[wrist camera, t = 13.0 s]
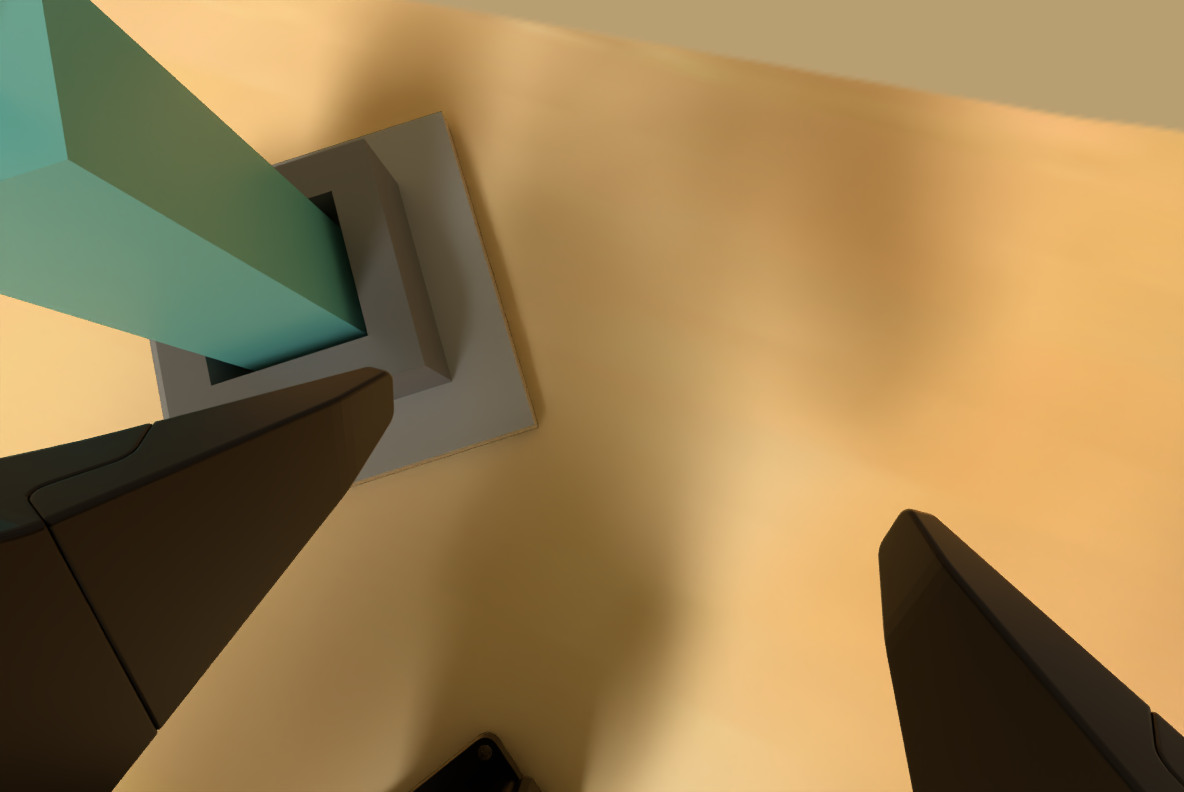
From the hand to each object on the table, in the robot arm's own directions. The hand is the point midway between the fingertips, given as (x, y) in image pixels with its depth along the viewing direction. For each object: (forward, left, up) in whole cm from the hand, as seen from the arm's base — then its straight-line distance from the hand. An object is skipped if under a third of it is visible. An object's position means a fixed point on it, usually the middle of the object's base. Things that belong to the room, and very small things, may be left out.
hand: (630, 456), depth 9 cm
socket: (-6, +12, -12) cm, 18 cm away
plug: (-6, +12, -11) cm, 18 cm away
